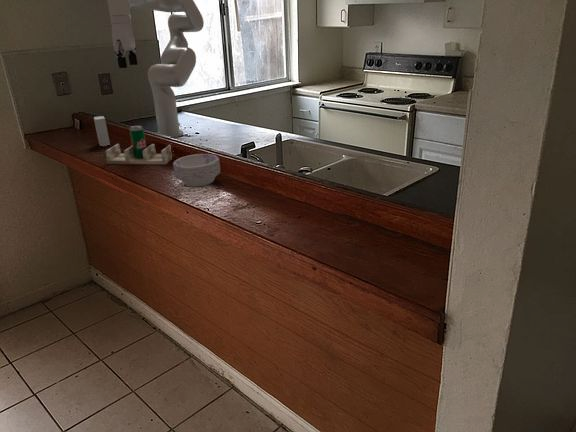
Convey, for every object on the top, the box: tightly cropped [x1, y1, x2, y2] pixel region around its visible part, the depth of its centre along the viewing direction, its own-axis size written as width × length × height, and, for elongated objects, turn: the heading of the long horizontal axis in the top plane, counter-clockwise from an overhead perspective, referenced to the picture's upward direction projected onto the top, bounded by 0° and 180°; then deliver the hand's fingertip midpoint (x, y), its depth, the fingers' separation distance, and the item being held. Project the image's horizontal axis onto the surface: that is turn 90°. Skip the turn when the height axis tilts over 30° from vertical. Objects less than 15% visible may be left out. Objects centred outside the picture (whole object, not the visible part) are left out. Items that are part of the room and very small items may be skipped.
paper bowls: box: [172, 153, 221, 188], centre depth 166 cm, size 15×15×8 cm
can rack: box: [105, 143, 173, 165], centre depth 193 cm, size 10×24×5 cm, turn 82°
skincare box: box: [93, 115, 111, 147], centre depth 216 cm, size 6×4×12 cm
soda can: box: [129, 125, 147, 159], centre depth 191 cm, size 5×5×12 cm
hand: (128, 66), depth 199 cm, fingers open, 9 cm apart
